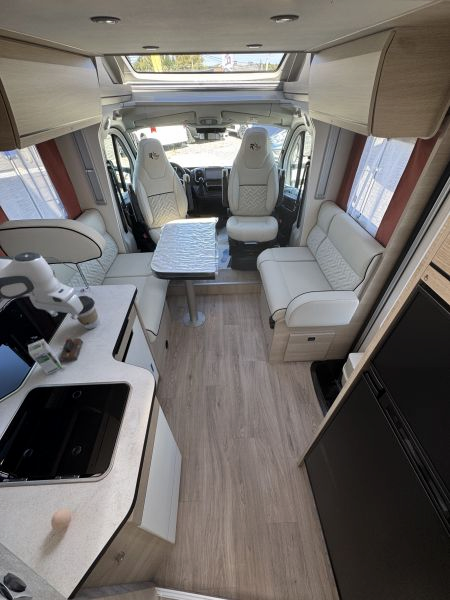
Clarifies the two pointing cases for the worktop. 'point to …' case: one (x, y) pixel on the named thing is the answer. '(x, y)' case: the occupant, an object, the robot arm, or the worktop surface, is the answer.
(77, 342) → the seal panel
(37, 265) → the robot arm
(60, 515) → the egg
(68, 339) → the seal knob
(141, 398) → the worktop surface
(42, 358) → the syrup box
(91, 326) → the coffee cup
